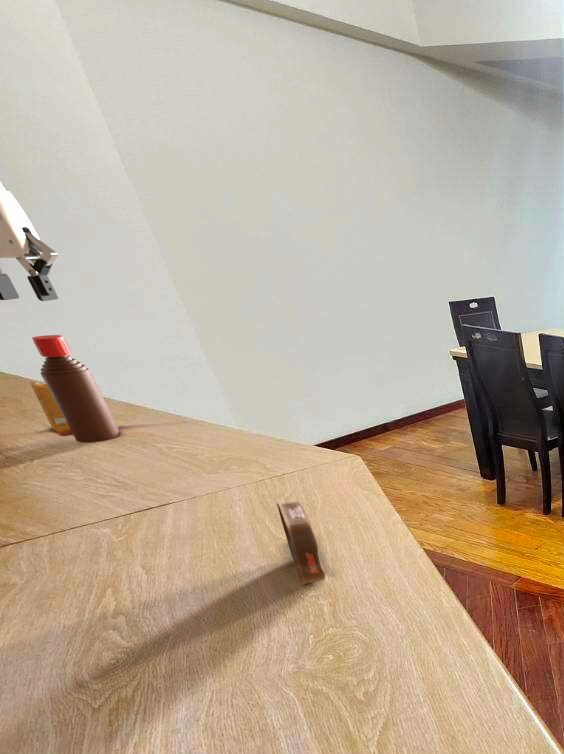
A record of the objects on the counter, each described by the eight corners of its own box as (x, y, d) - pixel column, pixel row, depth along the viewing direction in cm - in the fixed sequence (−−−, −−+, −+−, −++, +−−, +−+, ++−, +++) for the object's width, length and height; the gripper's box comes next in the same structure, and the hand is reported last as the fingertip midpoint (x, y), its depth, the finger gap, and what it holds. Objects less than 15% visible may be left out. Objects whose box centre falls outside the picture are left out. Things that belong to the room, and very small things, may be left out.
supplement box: (84, 432, 119) (57, 382, 114) (60, 436, 117) (32, 385, 112) (77, 429, 121) (51, 379, 116) (54, 433, 118) (26, 383, 113)
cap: (37, 357, 107) (27, 339, 106) (47, 353, 110) (37, 335, 109) (66, 356, 109) (57, 338, 107) (75, 352, 112) (66, 334, 110)
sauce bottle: (70, 443, 114) (15, 343, 104) (84, 433, 118) (32, 336, 109) (114, 440, 116) (64, 341, 107) (125, 430, 121) (79, 335, 112)
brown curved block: (289, 549, 83) (268, 494, 79) (315, 542, 85) (296, 489, 81) (306, 596, 73) (283, 537, 69) (335, 588, 75) (314, 530, 71)
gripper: (-121, 175, 92) (-48, 301, 101) (4, 181, 94) (65, 303, 103) (-70, 178, 98) (-5, 296, 107) (46, 183, 100) (100, 298, 109)
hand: (29, 298), depth 105 cm, fingers open, 5 cm apart
